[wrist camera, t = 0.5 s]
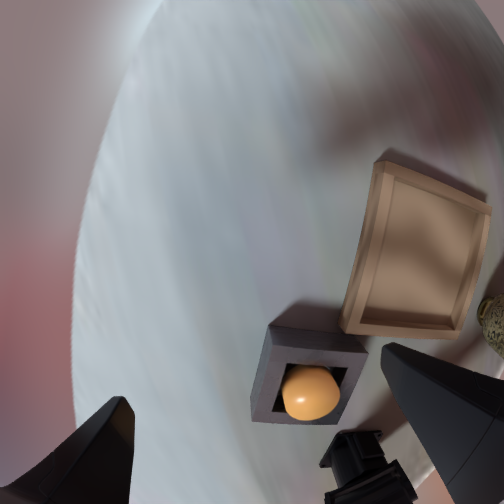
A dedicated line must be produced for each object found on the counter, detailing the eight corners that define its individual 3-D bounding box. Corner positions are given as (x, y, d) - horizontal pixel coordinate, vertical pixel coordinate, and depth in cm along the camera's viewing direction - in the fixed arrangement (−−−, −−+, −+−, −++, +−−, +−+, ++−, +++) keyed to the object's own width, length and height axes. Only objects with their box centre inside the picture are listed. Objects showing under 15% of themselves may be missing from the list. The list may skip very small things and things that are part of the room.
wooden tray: (446, 331, 25) (457, 339, 23) (337, 323, 24) (345, 333, 22) (478, 205, 22) (492, 207, 20) (374, 162, 21) (385, 160, 19)
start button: (322, 403, 23) (329, 420, 20) (275, 400, 22) (278, 419, 20) (338, 364, 22) (347, 380, 19) (288, 359, 21) (293, 377, 19)
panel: (327, 402, 25) (336, 424, 22) (250, 397, 25) (251, 421, 21) (353, 335, 24) (368, 353, 21) (268, 325, 23) (272, 344, 20)
